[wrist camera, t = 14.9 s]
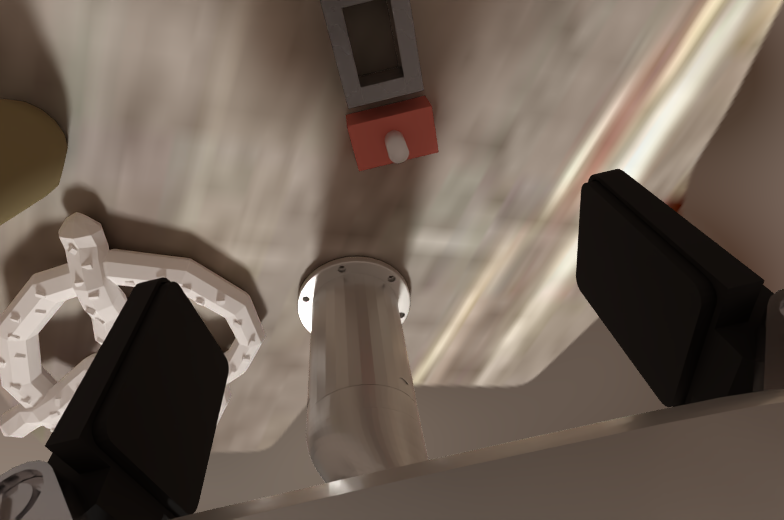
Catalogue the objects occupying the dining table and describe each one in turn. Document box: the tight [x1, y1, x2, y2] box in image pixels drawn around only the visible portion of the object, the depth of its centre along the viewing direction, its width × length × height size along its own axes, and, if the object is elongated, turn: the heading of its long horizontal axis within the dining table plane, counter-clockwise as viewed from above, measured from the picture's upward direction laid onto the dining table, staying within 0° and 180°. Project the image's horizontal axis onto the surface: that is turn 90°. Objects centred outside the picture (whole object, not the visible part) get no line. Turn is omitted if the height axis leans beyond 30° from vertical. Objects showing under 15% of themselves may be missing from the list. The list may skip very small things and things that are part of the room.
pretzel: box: [0, 212, 266, 438], centre depth 47 cm, size 28×24×6 cm
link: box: [320, 0, 424, 109], centre depth 33 cm, size 8×6×4 cm
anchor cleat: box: [346, 96, 438, 171], centre depth 37 cm, size 4×7×6 cm, turn 101°
